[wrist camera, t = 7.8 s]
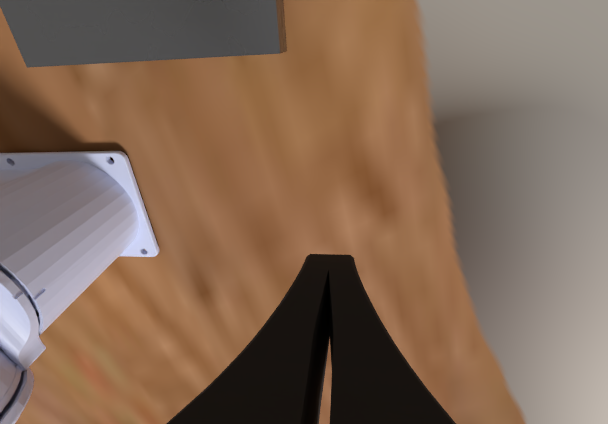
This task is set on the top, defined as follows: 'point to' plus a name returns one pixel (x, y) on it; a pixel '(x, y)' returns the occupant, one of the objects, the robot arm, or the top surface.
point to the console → (142, 29)
